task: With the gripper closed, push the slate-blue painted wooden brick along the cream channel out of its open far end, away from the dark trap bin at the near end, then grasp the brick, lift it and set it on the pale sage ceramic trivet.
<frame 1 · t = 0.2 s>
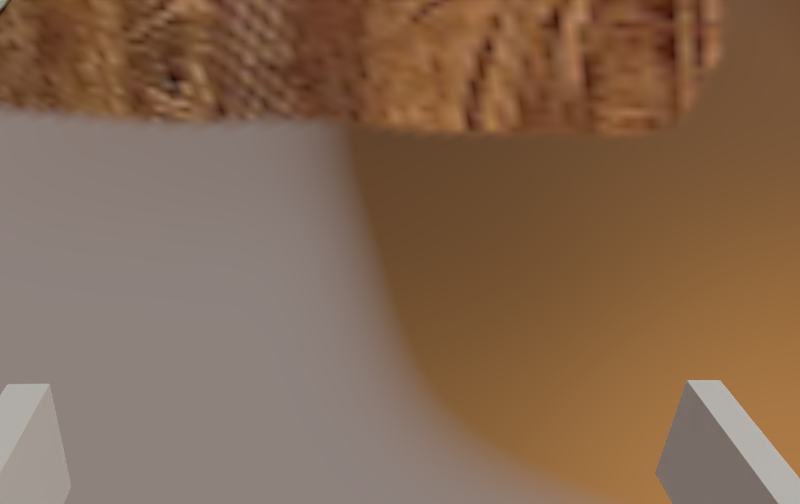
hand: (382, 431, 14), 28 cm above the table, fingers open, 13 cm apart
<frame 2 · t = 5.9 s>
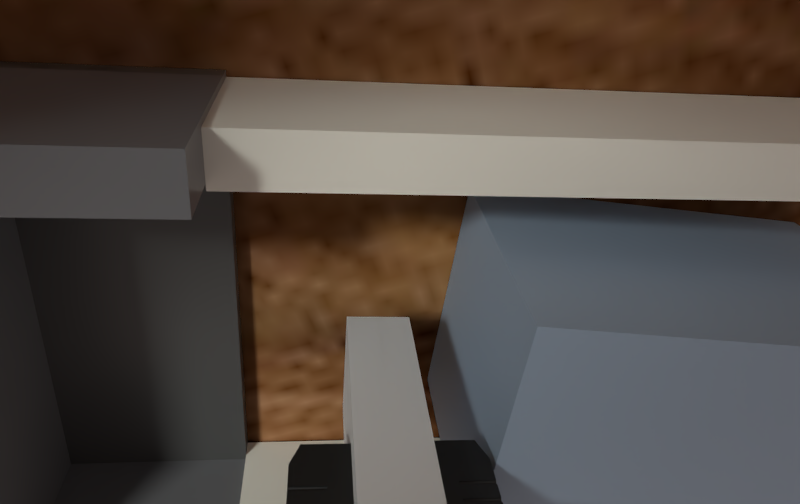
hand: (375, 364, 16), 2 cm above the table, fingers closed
trap bin: (119, 306, 17), on the table
channel: (520, 305, 18), on the table
painted block: (604, 303, 19), on the table, touching gripper
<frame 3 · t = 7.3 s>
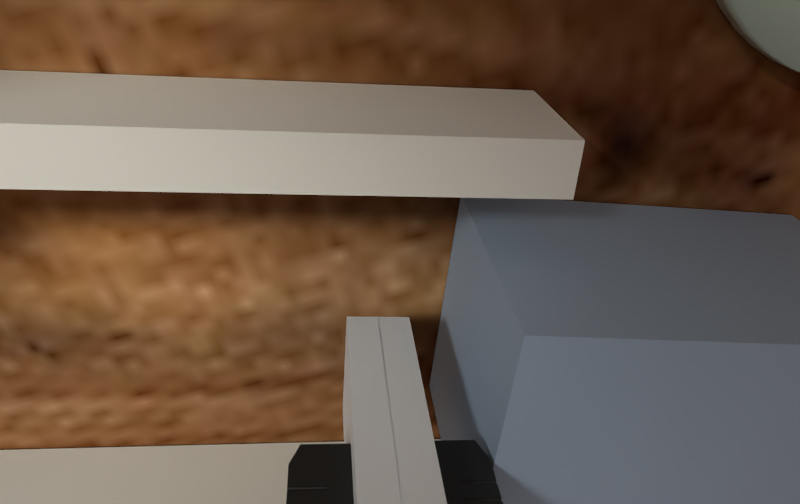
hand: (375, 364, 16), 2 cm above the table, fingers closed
channel: (217, 307, 18), on the table
painted block: (603, 303, 19), on the table, touching gripper
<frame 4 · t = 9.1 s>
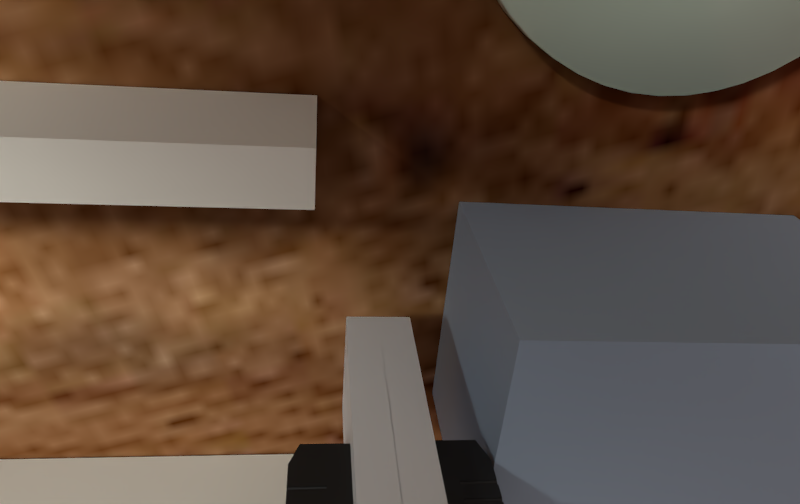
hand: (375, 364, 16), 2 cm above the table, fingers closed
channel: (10, 317, 17), on the table
painted block: (603, 305, 19), on the table
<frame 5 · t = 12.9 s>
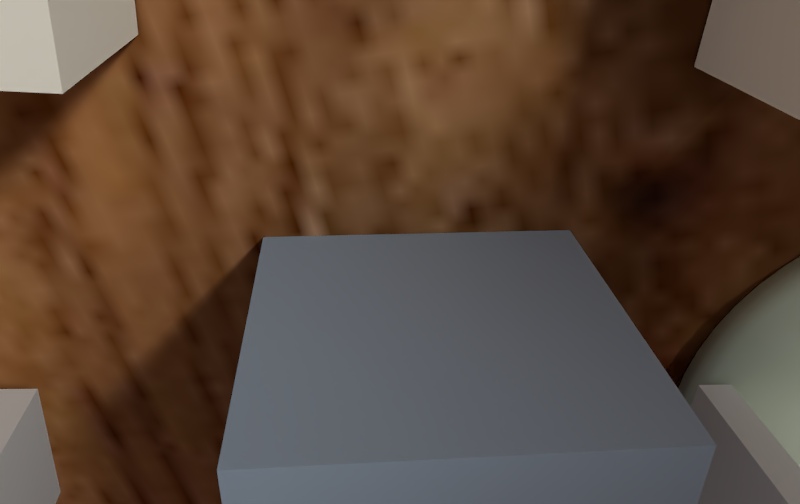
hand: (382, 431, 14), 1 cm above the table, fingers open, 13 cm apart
painted block: (412, 406, 15), on the table
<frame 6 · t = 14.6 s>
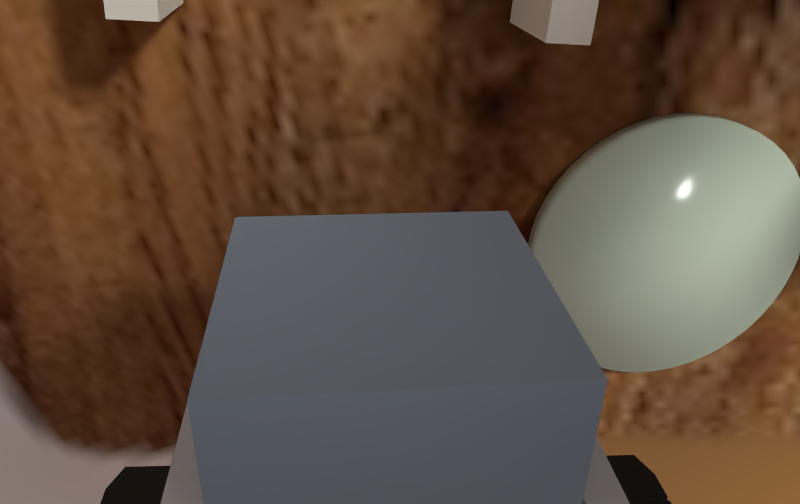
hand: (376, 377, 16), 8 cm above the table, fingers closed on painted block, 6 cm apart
painted block: (373, 377, 17), point 7 cm above the table, touching gripper
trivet: (659, 247, 25), on the table
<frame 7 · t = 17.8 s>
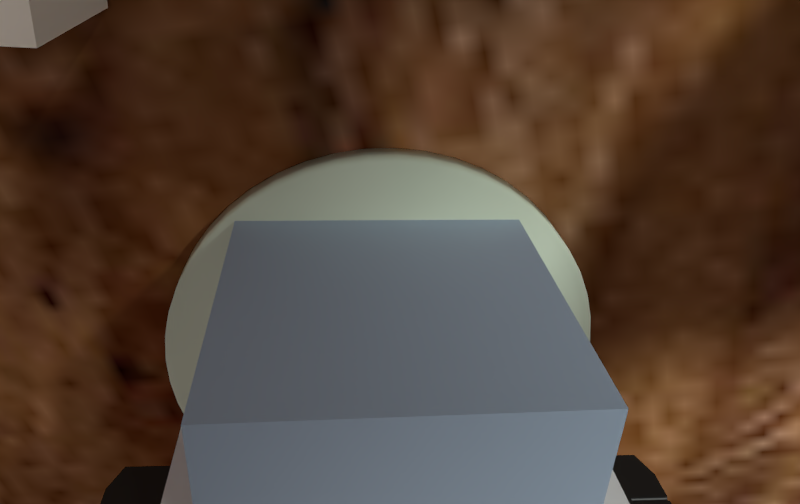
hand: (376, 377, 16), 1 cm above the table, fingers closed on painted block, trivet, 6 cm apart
painted block: (375, 387, 16), point 1 cm above the table, touching gripper, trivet
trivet: (381, 340, 17), on the table
when the fingers open (1 cm above the table, at t = 18.4 s): painted block stays where it is, resting on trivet.
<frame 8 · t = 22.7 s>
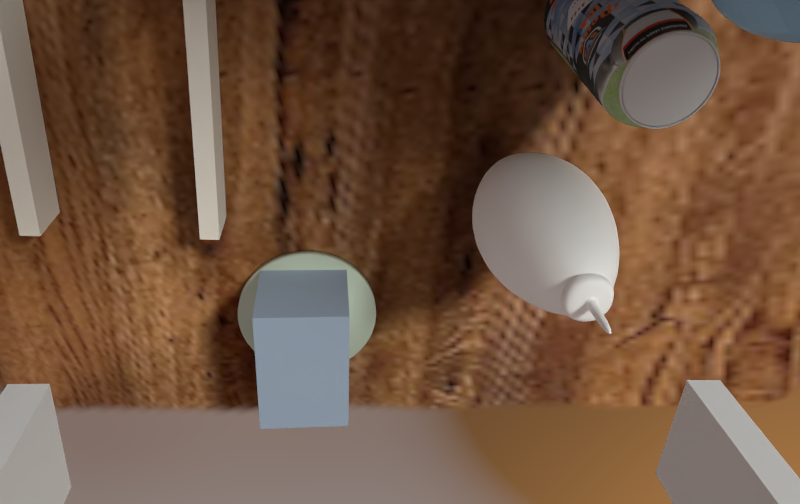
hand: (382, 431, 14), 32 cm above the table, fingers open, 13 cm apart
channel: (121, 103, 42), on the table
beverage can: (585, 20, 42), on the table
painted block: (305, 323, 50), point 1 cm above the table, touching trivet
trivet: (307, 310, 50), on the table
sauce bottle: (512, 182, 47), on the table
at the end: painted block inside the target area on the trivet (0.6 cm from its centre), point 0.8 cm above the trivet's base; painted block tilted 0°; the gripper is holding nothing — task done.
